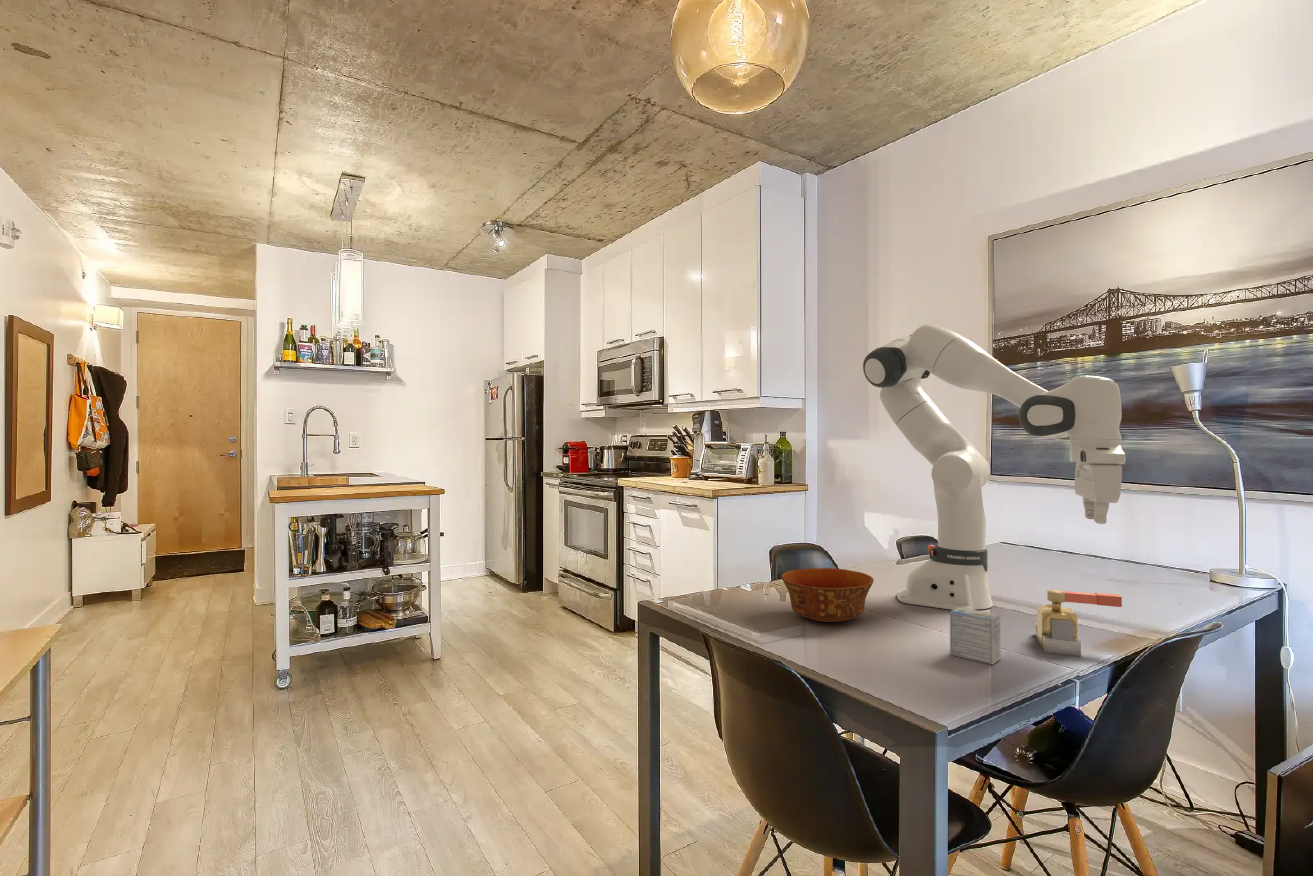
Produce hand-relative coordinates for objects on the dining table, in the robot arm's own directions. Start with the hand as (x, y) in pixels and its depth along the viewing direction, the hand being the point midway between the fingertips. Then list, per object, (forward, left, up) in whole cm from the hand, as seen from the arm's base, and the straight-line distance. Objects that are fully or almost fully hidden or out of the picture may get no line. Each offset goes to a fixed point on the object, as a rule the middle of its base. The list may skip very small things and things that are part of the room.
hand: (1095, 521), depth 130 cm
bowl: (-54, -3, -26) cm, 59 cm away
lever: (-3, -4, -16) cm, 17 cm away
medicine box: (-24, -19, -25) cm, 40 cm away
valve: (-8, -4, -25) cm, 27 cm away
